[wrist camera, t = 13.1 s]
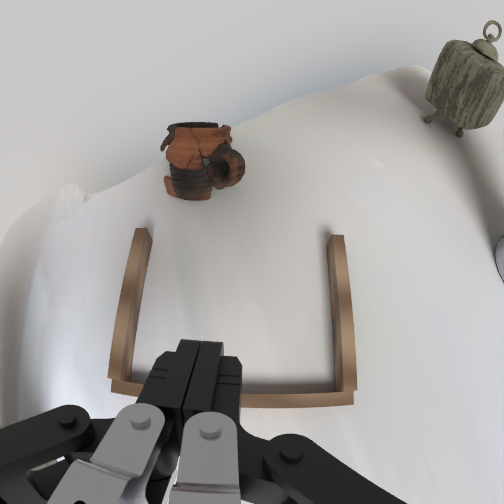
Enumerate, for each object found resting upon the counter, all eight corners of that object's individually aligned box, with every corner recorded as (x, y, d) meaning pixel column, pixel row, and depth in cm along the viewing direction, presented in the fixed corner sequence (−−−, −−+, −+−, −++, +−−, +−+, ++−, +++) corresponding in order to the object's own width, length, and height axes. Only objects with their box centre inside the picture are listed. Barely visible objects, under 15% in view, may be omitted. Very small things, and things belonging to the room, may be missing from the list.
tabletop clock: (452, 112, 49) (492, 17, 27) (482, 141, 45) (531, 45, 23) (413, 117, 46) (456, 0, 24) (447, 151, 42) (505, 30, 20)
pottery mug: (146, 190, 36) (145, 125, 32) (199, 175, 43) (201, 119, 39) (217, 218, 31) (221, 136, 26) (269, 196, 37) (276, 130, 33)
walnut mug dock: (348, 404, 24) (357, 403, 22) (117, 393, 24) (106, 390, 22) (337, 247, 32) (343, 234, 30) (142, 240, 32) (135, 228, 30)
